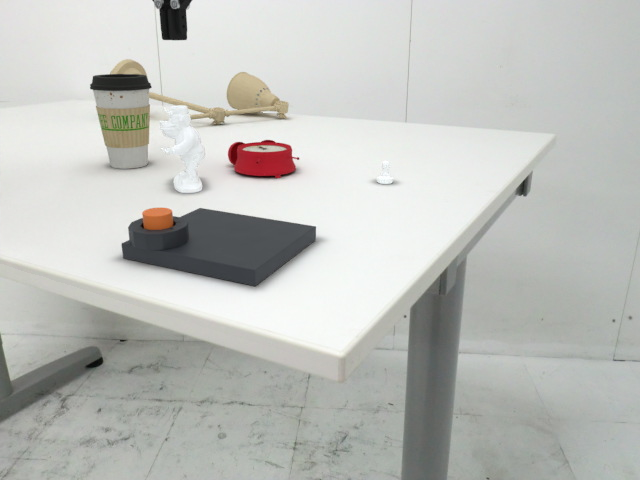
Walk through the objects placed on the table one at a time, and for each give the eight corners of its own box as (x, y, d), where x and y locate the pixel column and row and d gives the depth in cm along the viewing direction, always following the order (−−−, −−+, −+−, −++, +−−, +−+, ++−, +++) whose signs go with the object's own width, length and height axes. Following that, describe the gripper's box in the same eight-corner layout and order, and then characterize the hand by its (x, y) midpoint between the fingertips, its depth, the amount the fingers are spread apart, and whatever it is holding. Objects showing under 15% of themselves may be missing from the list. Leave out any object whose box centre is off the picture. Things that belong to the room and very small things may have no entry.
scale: (119, 259, 59) (116, 228, 58) (200, 220, 72) (199, 193, 70) (253, 288, 53) (251, 253, 52) (316, 240, 66) (316, 211, 64)
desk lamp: (97, 65, 137) (242, 104, 126) (181, 43, 166) (305, 73, 155) (101, 124, 145) (238, 165, 134) (181, 93, 173) (299, 126, 162)
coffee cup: (90, 170, 95) (78, 77, 90) (112, 157, 104) (102, 73, 99) (148, 171, 95) (139, 78, 90) (165, 159, 104) (158, 74, 99)
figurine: (161, 179, 91) (155, 102, 86) (203, 177, 92) (199, 101, 88) (164, 194, 82) (157, 110, 78) (209, 191, 84) (205, 109, 80)
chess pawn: (389, 185, 89) (390, 163, 88) (374, 182, 90) (375, 161, 89) (395, 181, 92) (396, 160, 90) (380, 179, 93) (381, 158, 91)
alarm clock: (249, 159, 88) (218, 123, 99) (246, 195, 91) (218, 156, 102) (309, 154, 93) (273, 120, 104) (305, 188, 96) (271, 152, 107)
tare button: (137, 229, 59) (136, 213, 58) (156, 221, 61) (155, 205, 61) (161, 234, 58) (159, 217, 57) (179, 225, 60) (178, 209, 60)
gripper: (97, -113, 73) (113, 39, 79) (195, -123, 67) (204, 41, 74) (137, -101, 79) (149, 38, 86) (229, -109, 74) (235, 40, 80)
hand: (174, 39), depth 80 cm, fingers closed
